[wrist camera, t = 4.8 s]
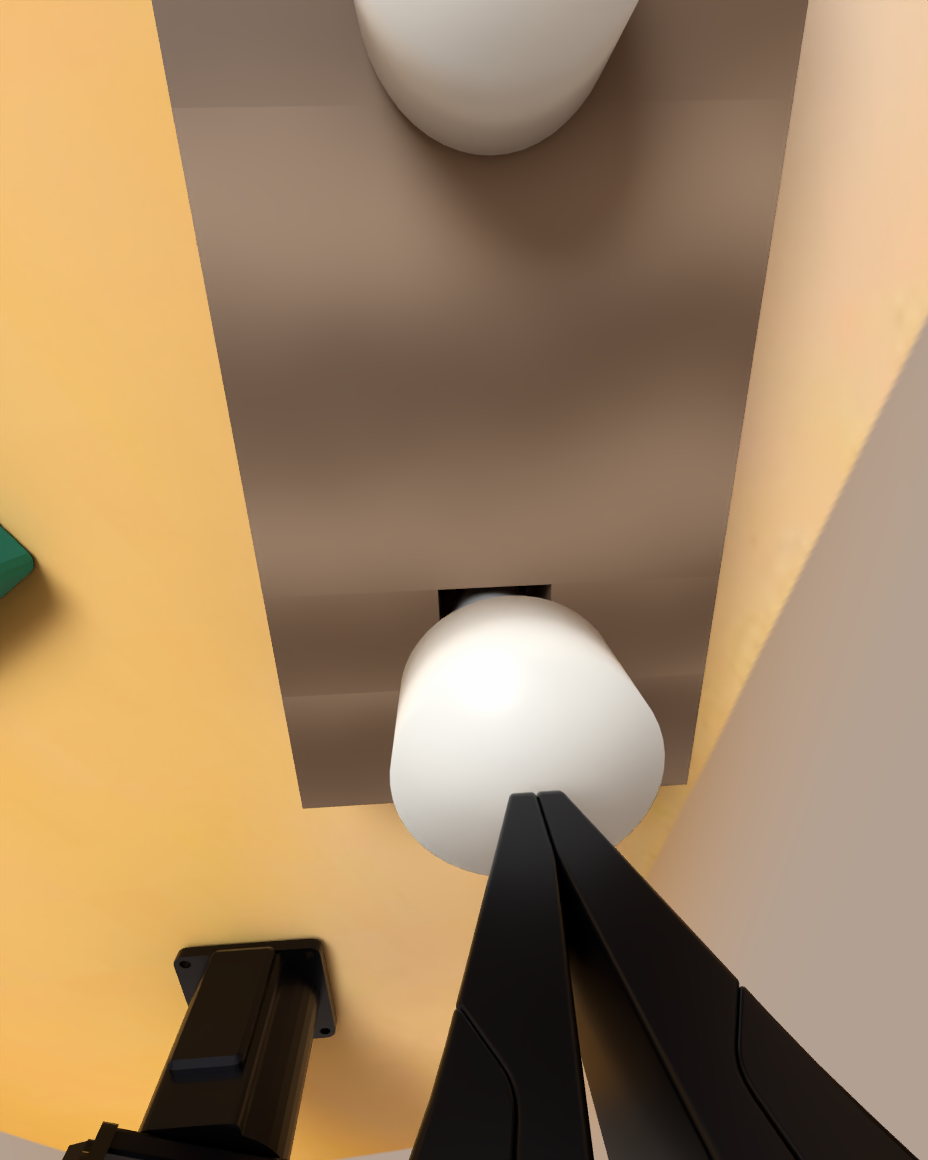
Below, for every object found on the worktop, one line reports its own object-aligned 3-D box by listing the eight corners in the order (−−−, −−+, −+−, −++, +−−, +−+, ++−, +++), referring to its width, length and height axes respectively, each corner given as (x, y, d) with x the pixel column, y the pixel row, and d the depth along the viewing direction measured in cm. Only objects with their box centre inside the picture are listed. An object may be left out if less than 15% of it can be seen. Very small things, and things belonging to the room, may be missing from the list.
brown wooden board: (639, 709, 20) (686, 784, 16) (329, 727, 19) (302, 808, 15) (735, -203, 11) (887, -504, 7) (186, -208, 11) (53, -527, 7)
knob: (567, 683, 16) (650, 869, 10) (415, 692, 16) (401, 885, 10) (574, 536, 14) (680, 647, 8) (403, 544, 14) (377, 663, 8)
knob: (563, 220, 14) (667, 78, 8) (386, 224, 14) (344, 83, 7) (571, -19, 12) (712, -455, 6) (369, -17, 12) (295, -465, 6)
